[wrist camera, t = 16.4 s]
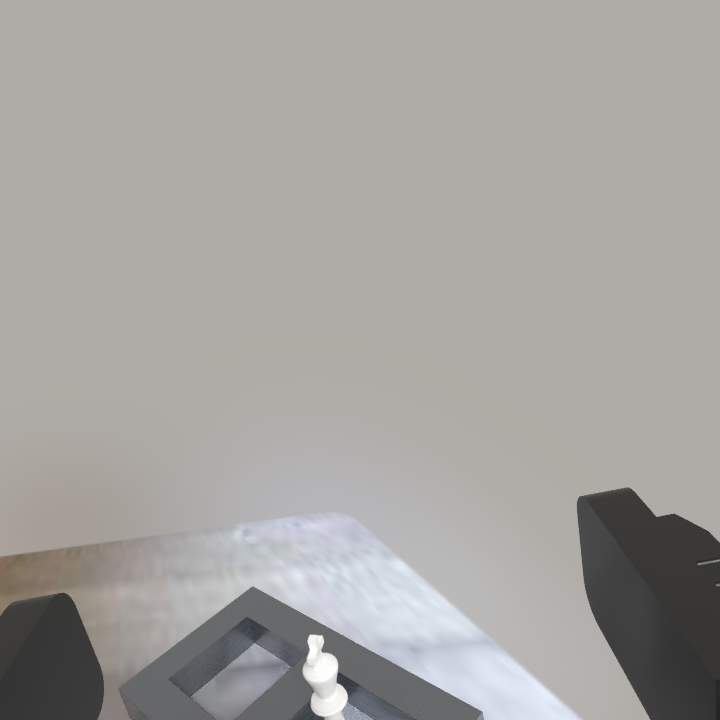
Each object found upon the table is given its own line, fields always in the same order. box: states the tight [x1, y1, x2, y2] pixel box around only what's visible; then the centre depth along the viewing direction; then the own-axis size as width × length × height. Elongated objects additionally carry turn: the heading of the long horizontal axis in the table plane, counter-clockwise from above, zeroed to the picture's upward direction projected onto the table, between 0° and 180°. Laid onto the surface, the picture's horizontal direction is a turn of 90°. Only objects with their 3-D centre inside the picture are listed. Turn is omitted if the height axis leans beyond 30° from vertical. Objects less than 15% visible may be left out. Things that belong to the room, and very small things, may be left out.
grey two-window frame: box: [118, 587, 484, 720], centre depth 41 cm, size 12×22×2 cm, turn 47°
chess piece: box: [302, 635, 348, 720], centre depth 36 cm, size 5×5×10 cm
